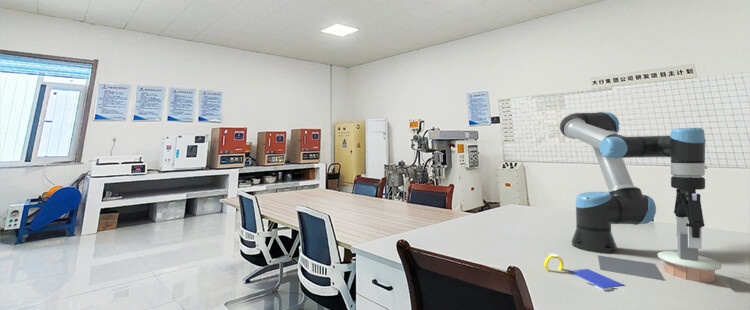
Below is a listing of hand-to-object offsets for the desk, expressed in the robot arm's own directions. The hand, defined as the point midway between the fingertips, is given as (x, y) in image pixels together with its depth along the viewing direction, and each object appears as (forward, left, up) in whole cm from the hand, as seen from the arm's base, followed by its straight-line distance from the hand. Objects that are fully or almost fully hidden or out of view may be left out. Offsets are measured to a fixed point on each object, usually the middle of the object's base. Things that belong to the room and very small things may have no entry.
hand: (687, 242), depth 95 cm
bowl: (0, 0, -11) cm, 11 cm away
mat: (-15, -2, -11) cm, 19 cm away
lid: (0, 0, -6) cm, 6 cm away
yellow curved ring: (-36, -18, -12) cm, 42 cm away
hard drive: (-25, -19, -12) cm, 33 cm away
